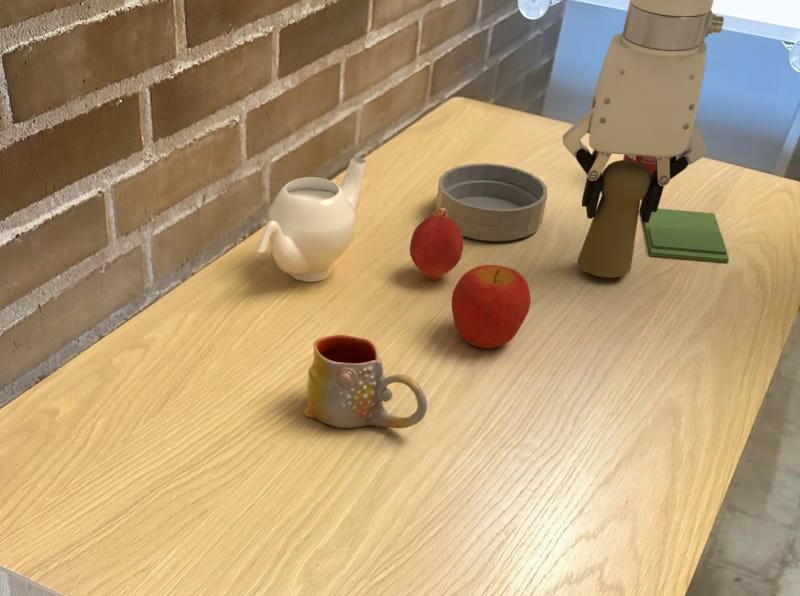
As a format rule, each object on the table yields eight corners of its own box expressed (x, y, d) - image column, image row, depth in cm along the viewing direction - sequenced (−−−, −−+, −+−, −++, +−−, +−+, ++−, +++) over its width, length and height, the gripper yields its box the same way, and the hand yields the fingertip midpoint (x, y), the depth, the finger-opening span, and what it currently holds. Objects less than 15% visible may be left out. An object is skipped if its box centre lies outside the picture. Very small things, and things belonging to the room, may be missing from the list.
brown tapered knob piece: (627, 281, 108) (655, 181, 100) (573, 271, 109) (596, 171, 101) (633, 257, 112) (661, 158, 104) (581, 247, 113) (604, 149, 105)
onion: (397, 281, 109) (404, 209, 103) (422, 260, 112) (430, 190, 106) (442, 296, 106) (452, 225, 100) (467, 275, 110) (478, 205, 104)
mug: (291, 414, 91) (292, 351, 86) (333, 381, 95) (336, 319, 90) (399, 462, 87) (406, 399, 82) (438, 426, 91) (447, 364, 86)
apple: (498, 315, 104) (511, 244, 98) (536, 353, 100) (551, 281, 94) (434, 328, 102) (443, 257, 96) (469, 367, 97) (481, 295, 92)
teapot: (222, 295, 105) (218, 210, 98) (323, 227, 117) (326, 146, 110) (295, 322, 102) (296, 236, 95) (392, 250, 113) (399, 168, 106)
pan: (539, 200, 123) (545, 168, 120) (541, 248, 115) (548, 215, 112) (437, 191, 124) (441, 159, 121) (432, 238, 115) (436, 205, 112)
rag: (713, 217, 122) (715, 210, 121) (727, 263, 114) (730, 256, 113) (640, 210, 122) (642, 204, 121) (650, 256, 114) (652, 249, 114)
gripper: (748, 20, 95) (691, 206, 108) (572, 9, 96) (537, 194, 109) (762, 46, 90) (700, 237, 103) (576, 34, 91) (539, 224, 104)
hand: (617, 213), depth 106 cm, fingers closed on brown tapered knob piece, 5 cm apart
